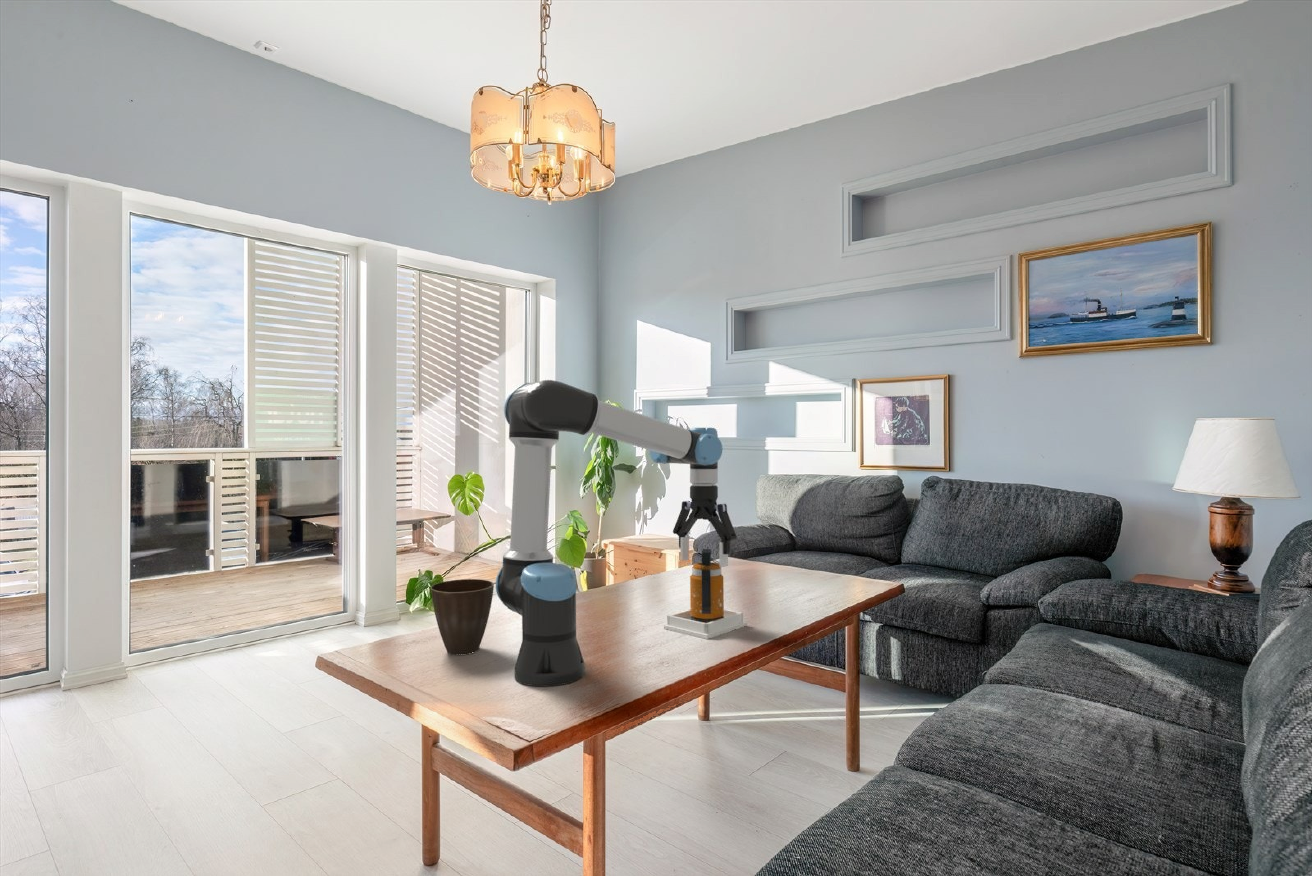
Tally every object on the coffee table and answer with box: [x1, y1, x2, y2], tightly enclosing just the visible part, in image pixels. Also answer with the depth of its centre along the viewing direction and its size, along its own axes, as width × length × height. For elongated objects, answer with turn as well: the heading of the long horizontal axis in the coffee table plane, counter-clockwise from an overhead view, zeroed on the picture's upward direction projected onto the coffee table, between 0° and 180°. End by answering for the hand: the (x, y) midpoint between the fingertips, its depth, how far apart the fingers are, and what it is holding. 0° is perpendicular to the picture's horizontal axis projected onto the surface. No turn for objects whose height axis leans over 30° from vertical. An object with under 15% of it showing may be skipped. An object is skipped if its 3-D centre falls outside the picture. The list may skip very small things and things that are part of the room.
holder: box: [663, 608, 748, 640], centre depth 191 cm, size 17×15×4 cm
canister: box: [689, 548, 725, 623], centre depth 191 cm, size 9×11×20 cm
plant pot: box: [430, 578, 495, 656], centre depth 173 cm, size 15×15×16 cm
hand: (703, 563), depth 191 cm, fingers open, 13 cm apart
